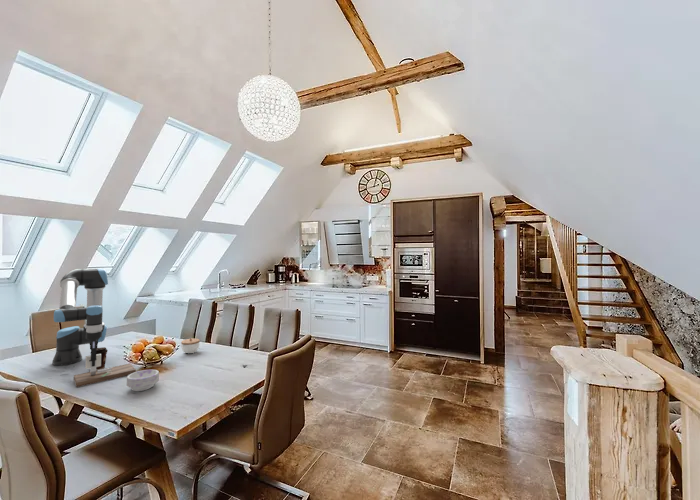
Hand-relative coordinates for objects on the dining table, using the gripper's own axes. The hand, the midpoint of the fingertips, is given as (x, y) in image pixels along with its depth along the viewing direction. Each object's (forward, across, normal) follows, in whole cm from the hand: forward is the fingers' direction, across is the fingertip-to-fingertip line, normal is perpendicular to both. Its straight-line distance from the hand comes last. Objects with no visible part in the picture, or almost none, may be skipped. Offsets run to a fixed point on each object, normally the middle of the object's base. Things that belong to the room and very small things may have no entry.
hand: (93, 370), depth 184 cm
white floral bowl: (+6, +31, +22) cm, 39 cm away
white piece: (+3, 0, +3) cm, 4 cm away
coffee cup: (+6, -20, +2) cm, 20 cm away
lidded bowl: (+6, -19, +57) cm, 60 cm away
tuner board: (+5, -1, +6) cm, 8 cm away
